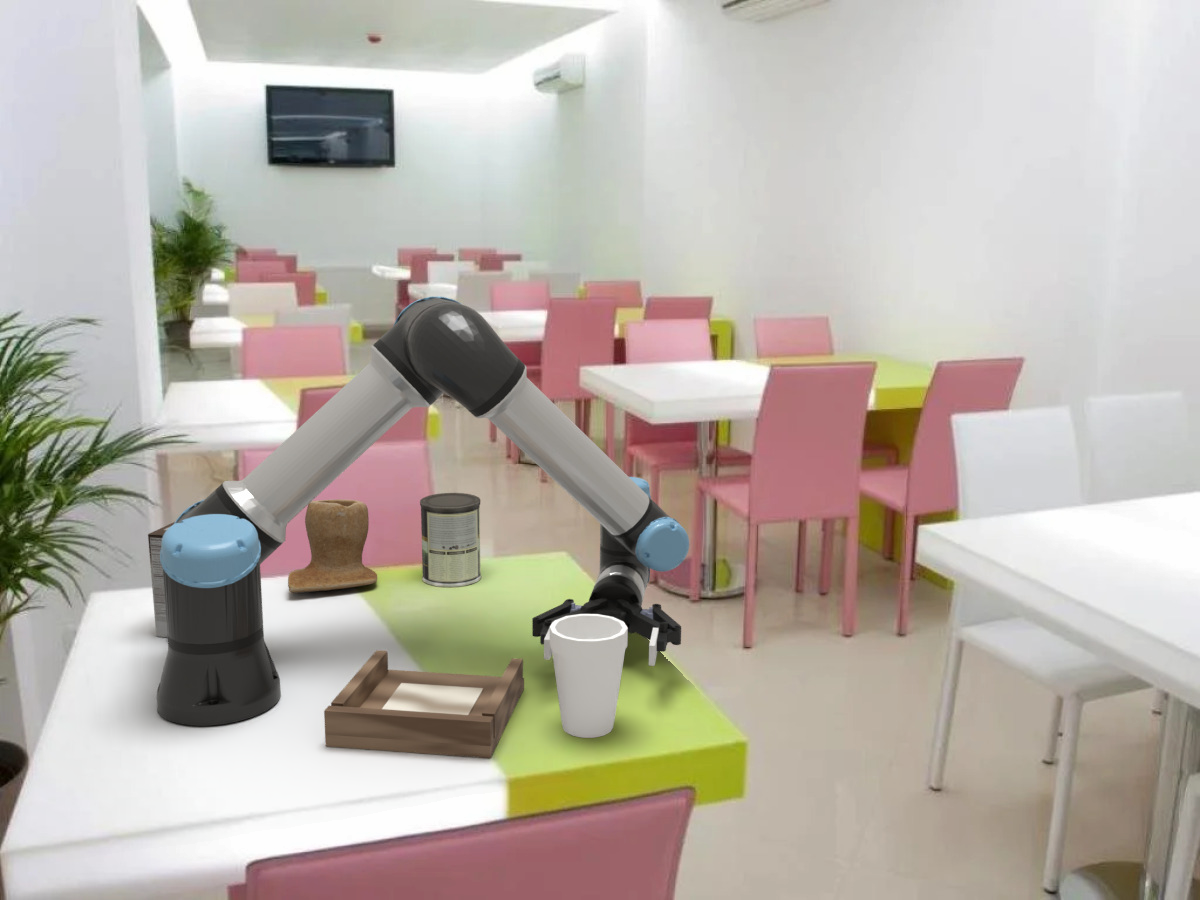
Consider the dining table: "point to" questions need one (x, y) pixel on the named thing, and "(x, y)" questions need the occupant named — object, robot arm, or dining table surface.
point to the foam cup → (588, 671)
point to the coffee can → (450, 539)
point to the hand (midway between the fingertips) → (598, 652)
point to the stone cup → (334, 547)
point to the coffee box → (158, 580)
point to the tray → (423, 710)
